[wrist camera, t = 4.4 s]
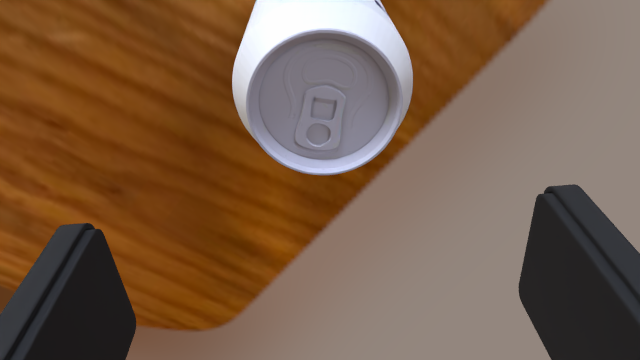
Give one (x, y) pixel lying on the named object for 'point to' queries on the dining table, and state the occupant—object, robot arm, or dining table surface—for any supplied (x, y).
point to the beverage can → (322, 82)
